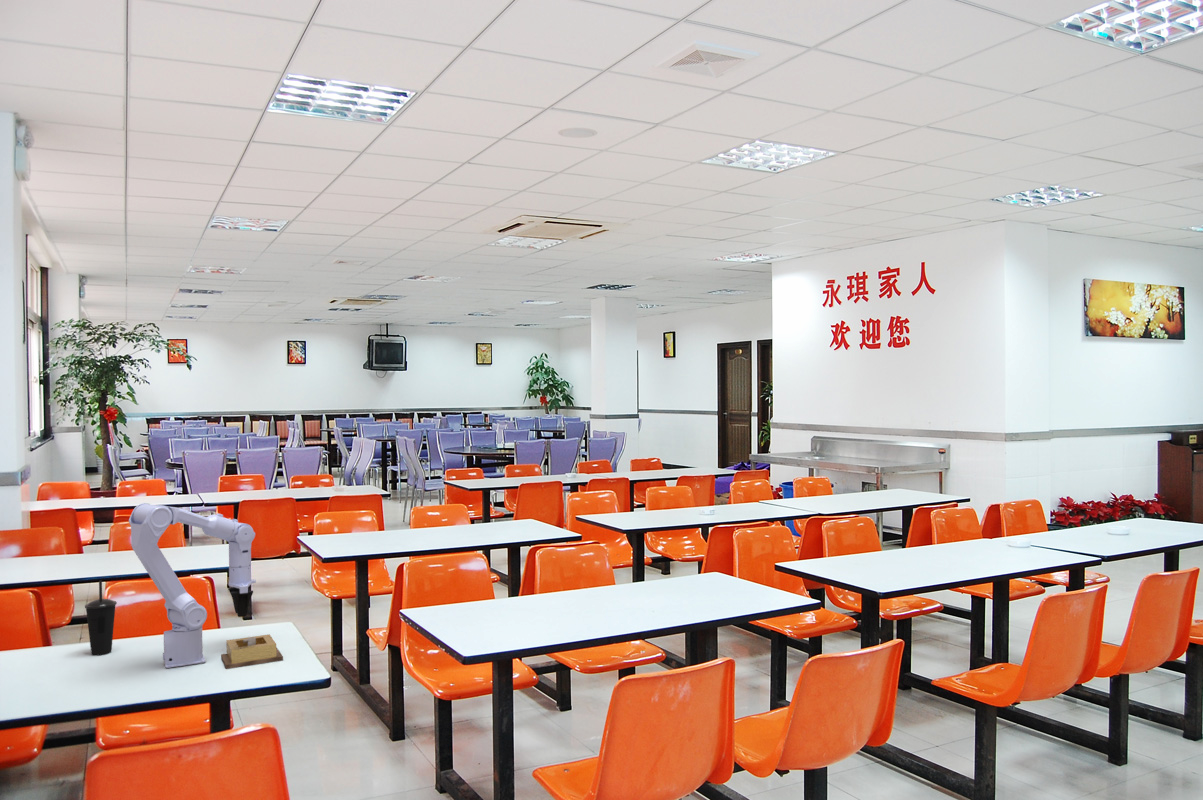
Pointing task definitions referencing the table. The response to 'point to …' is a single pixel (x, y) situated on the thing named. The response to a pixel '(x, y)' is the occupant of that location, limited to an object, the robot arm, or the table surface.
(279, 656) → the board
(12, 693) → the table surface
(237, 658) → the tan slotted block
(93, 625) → the drinking cup
